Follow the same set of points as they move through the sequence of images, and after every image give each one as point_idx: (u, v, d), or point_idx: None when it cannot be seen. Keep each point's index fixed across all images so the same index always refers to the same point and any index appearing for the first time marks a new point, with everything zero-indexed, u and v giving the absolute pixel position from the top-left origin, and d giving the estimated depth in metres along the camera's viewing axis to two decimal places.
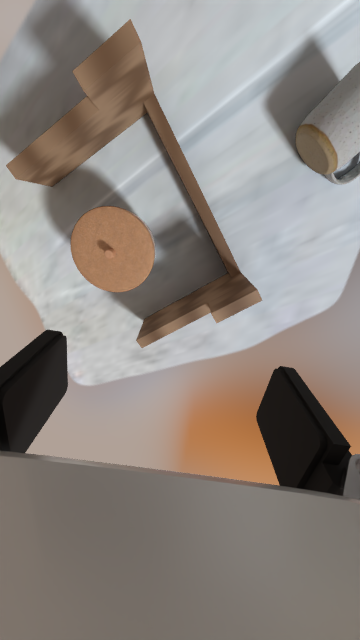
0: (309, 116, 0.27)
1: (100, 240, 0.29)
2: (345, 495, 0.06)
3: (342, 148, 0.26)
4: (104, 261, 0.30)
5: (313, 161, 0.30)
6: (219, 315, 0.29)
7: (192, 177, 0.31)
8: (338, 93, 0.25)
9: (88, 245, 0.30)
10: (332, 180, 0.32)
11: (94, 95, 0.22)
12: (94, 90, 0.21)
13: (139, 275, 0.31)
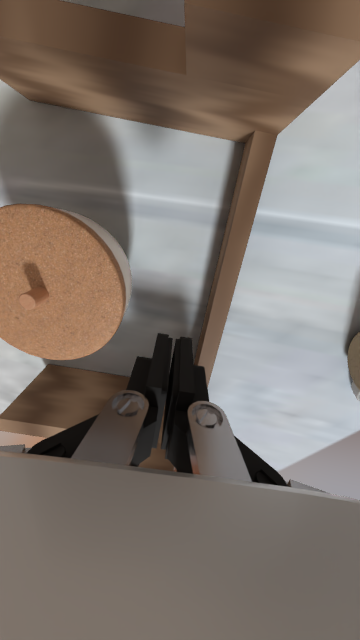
0: None
1: (33, 264, 0.15)
2: (197, 455, 0.06)
3: None
4: (18, 295, 0.16)
5: None
6: None
7: (235, 275, 0.19)
8: None
9: (5, 254, 0.14)
10: (355, 392, 0.25)
11: (199, 40, 0.08)
12: (207, 31, 0.08)
13: (64, 351, 0.17)
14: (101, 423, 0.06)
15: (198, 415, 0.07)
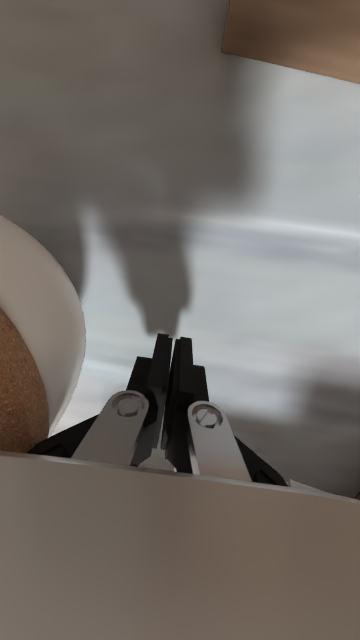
0: None
1: None
2: (197, 455, 0.06)
3: None
4: None
5: None
6: None
7: None
8: None
9: None
10: None
11: None
12: None
13: None
14: (101, 423, 0.06)
15: (198, 415, 0.07)
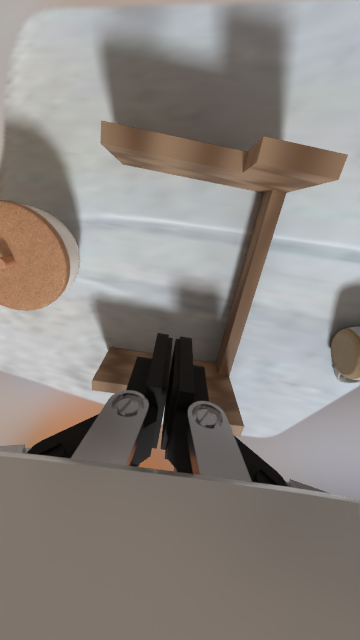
0: None
1: (7, 240, 0.22)
2: (197, 455, 0.06)
3: None
4: None
5: (339, 356, 0.33)
6: None
7: (256, 279, 0.29)
8: None
9: None
10: (336, 374, 0.36)
11: (257, 168, 0.18)
12: (263, 167, 0.17)
13: (20, 303, 0.25)
14: (101, 423, 0.06)
15: (198, 415, 0.07)
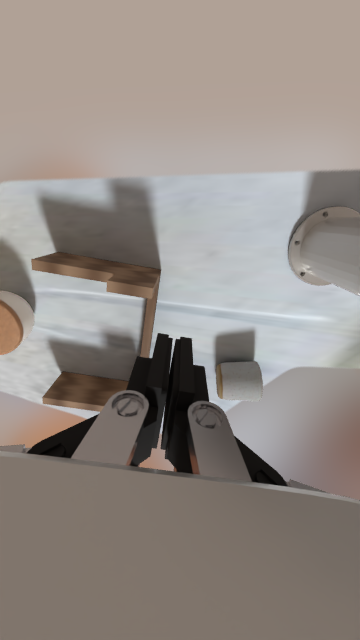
0: (225, 368, 0.45)
1: None
2: (198, 455, 0.06)
3: (226, 397, 0.45)
4: None
5: (217, 382, 0.48)
6: None
7: (150, 331, 0.44)
8: (240, 374, 0.44)
9: None
10: None
11: None
12: None
13: None
14: (101, 423, 0.06)
15: (198, 415, 0.07)
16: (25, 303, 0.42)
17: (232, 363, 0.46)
